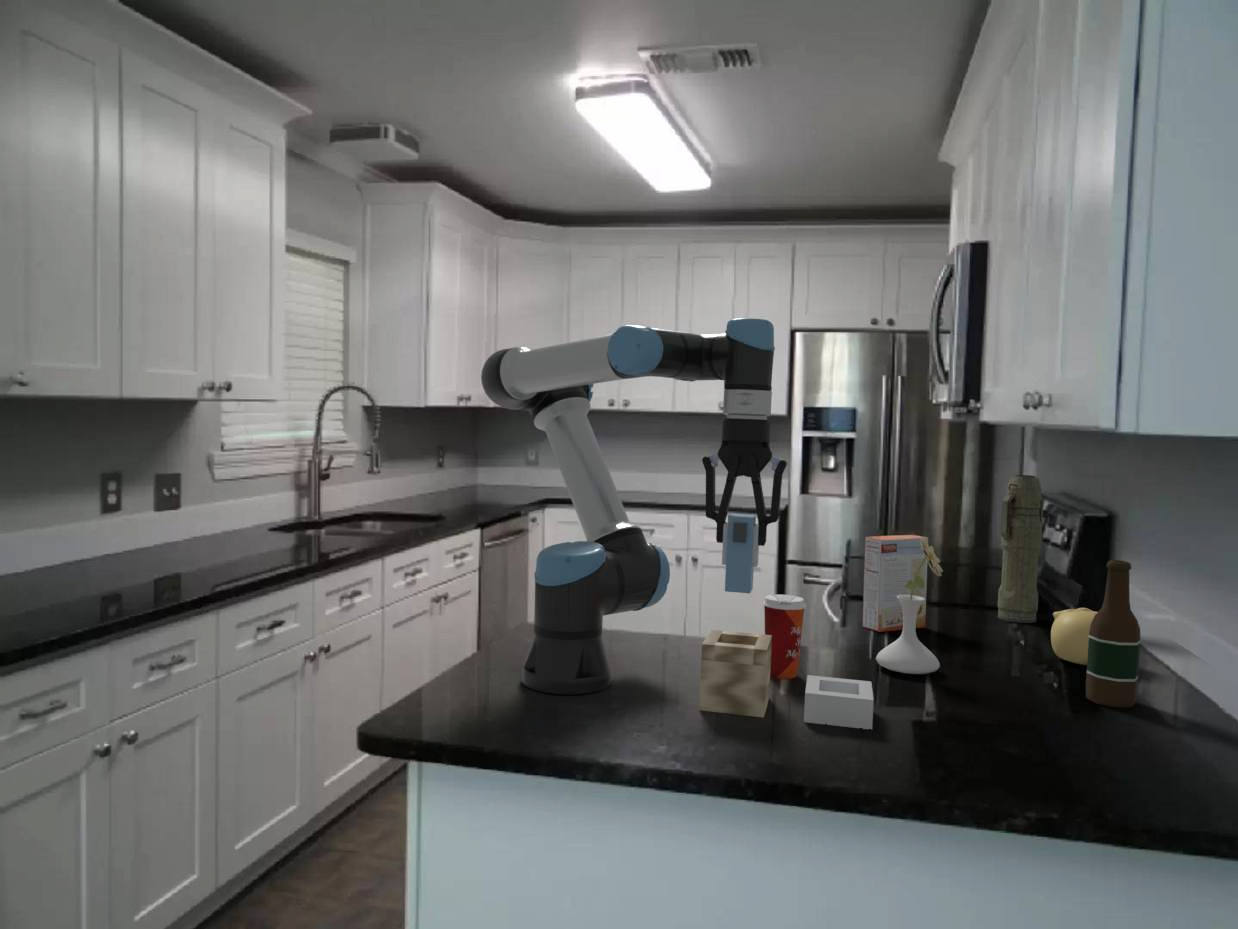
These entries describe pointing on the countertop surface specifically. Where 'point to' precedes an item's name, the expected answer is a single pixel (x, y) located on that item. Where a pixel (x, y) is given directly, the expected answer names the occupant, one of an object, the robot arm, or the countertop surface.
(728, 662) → the block
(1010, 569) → the thermos
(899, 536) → the cracker box
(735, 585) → the plug
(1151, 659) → the countertop surface
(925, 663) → the flower in vase
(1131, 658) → the beer bottle
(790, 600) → the paper cup
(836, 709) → the block
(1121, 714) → the countertop surface
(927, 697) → the countertop surface
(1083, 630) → the sculpture
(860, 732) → the countertop surface
